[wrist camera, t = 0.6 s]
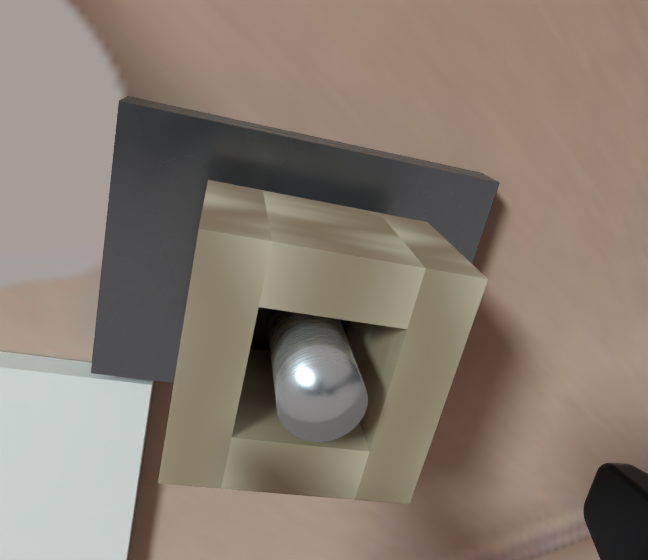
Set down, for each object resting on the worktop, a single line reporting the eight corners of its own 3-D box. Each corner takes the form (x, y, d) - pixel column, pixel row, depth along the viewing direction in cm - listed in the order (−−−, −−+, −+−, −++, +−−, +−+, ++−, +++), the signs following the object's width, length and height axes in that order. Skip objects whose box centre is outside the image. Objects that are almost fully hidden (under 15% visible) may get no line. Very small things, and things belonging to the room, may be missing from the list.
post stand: (481, 173, 21) (641, 257, 12) (411, 390, 24) (503, 572, 16) (127, 96, 18) (40, 141, 10) (100, 351, 21) (16, 543, 13)
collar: (427, 222, 17) (487, 279, 13) (372, 405, 19) (409, 504, 15) (207, 179, 16) (198, 228, 12) (175, 382, 18) (157, 483, 14)
